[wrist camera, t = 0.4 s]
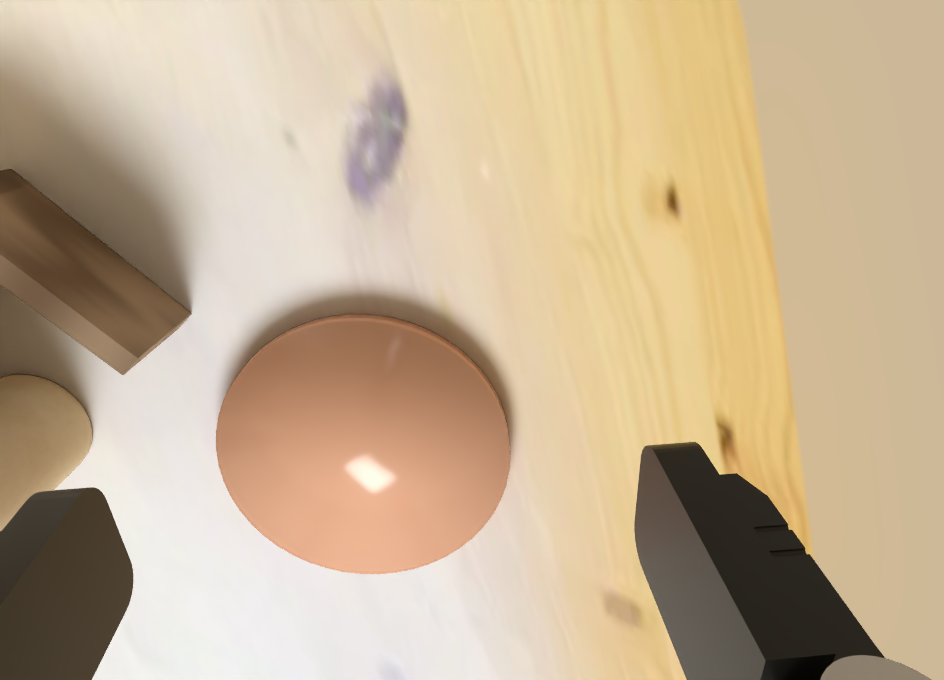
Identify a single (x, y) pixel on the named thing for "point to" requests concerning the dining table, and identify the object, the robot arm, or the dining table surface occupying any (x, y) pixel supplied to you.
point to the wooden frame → (79, 279)
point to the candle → (37, 439)
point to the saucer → (364, 444)
